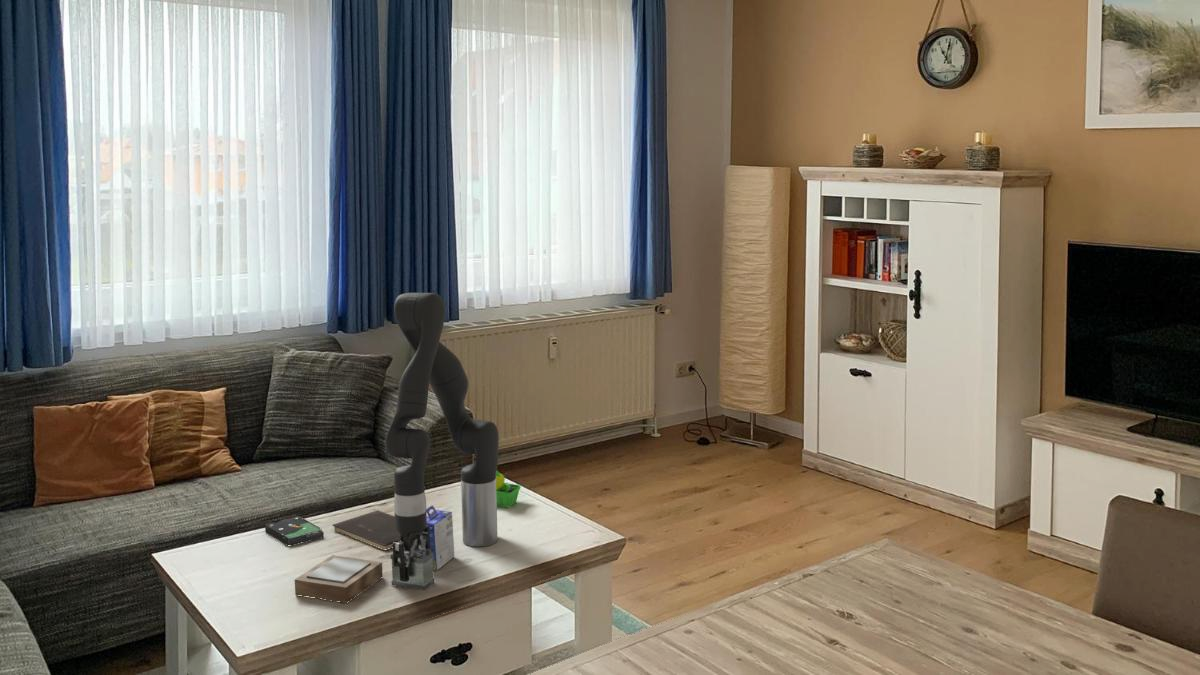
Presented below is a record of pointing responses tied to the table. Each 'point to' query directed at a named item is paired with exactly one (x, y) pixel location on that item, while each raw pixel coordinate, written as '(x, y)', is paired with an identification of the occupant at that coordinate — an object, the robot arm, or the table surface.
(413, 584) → the box
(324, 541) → the table surface
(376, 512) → the hardcover book
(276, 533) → the disk drive
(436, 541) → the ink cartridge box
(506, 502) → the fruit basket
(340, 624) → the table surface
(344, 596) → the walnut stand
